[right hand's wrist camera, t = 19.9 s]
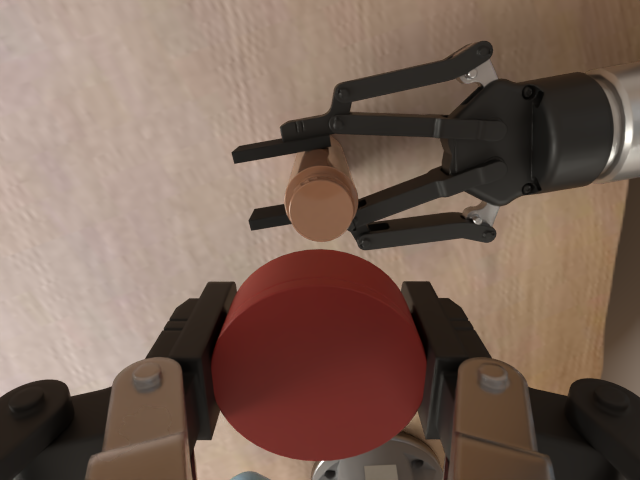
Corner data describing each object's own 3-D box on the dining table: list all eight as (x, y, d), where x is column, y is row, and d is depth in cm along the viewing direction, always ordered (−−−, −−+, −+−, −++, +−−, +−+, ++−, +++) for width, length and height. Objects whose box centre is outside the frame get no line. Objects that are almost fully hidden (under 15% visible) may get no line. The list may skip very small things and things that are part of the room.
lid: (189, 316, 11) (163, 364, 9) (340, 210, 10) (344, 240, 8) (302, 430, 12) (299, 490, 11) (445, 348, 11) (468, 399, 9)
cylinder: (354, 158, 35) (377, 212, 21) (320, 191, 36) (320, 263, 22) (320, 123, 34) (321, 155, 20) (286, 158, 35) (265, 211, 21)
